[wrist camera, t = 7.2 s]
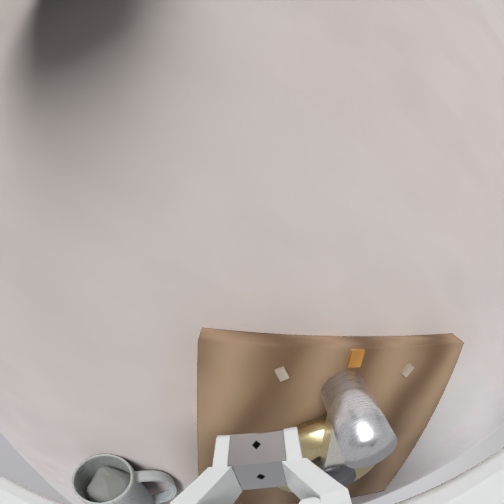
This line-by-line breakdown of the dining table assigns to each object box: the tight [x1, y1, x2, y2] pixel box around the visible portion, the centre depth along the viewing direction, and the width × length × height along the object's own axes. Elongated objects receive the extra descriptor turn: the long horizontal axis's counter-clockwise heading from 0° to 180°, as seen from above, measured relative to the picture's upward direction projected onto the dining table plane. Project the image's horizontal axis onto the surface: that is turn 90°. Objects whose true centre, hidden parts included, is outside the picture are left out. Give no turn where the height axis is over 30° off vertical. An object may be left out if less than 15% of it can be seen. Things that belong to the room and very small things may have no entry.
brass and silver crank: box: [278, 371, 397, 493], centre depth 16 cm, size 10×16×8 cm, turn 2°
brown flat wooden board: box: [197, 328, 464, 504], centre depth 22 cm, size 22×22×2 cm
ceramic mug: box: [72, 454, 177, 504], centre depth 21 cm, size 11×8×8 cm
